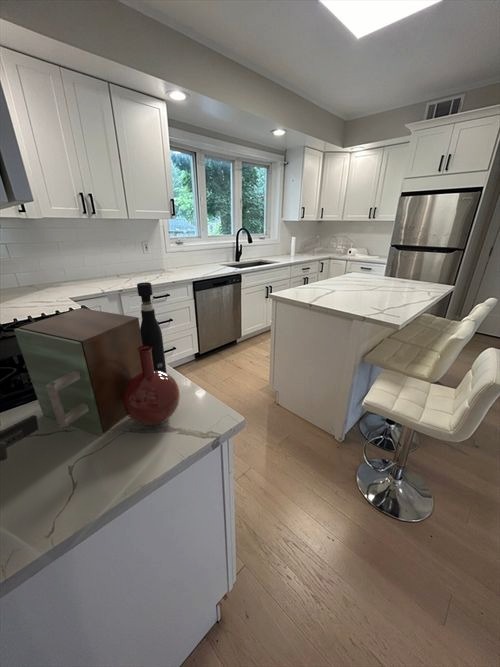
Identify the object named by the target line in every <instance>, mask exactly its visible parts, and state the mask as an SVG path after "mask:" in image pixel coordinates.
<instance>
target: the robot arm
mask: <svg viewBox="0 0 500 667" xmlns="http://www.w3.org/2000/svg"><path fill="white" fill-rule="evenodd" d="M37 431H39V425H38V415H34V414H32V415H30V416H29V417H27V418H25V419H22V420H20V421H18V422H16V423H14V424H12V425H10V426H8V427H6V428H4V429H2V430H0V462H3V461H5V460H7V459H8V450H7V448H9V447H11V446H13V445H14V444H16V443H19V441H22V440H23V439H24V438H27V437H28V436H30V435H32V434H33V433H35V432H37Z"/></svg>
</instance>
